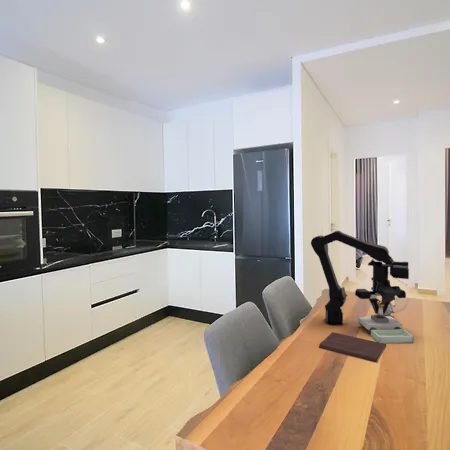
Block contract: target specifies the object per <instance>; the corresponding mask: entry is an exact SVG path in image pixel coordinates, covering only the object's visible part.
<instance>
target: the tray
mask: <svg viewBox="0 0 450 450" xmlns="http://www.w3.org/2000/svg"><path fill="white" fill-rule="evenodd" d="M370 337H371V338H372V339H373V340H375V342H379V343H384V344H414V340H415V339H414V335H413V334H411V333H410V332H408V331H407V330H406V329H403V328H402V329H377V330H371V334H370Z"/></svg>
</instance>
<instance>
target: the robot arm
mask: <svg viewBox="0 0 450 450" xmlns="http://www.w3.org/2000/svg"><path fill="white" fill-rule="evenodd" d="M336 241H337V242H339V243H342V244H344V245H346V246H349V247H352V248H354V249H355V250H358V251H361V252H363V253H365V254H366V255H368V256H369V257H370V258H371V260H370V261H369V262H367V266H370V267H372V277H371V278H370V279H371V281H372V287H371V289H370V290H368V289H366V288H357V289H355V291H354V292H355V293H354V295H355V297H357V298H358V299H361V300H368V301H369V302H370V304H371V306H372V309H373V311H374V315H377V311H378V310H377V302H379V301H378V300H379V299H378V298H377V296H378V297H379V296H380V297H381V300H382V302H383V303H385V306H383V314H385V312H386V310H387V307H388V305H389V303H392V302H393V301H395V300H396V297H397V298H398V299H406V298H407V293H406V291H405V290H404V289H401V287H400V286H399V285H394V286H391V282H390V280H389V275H390V276H391V277H392V279H403V280H409V276H410V269H409V261H395V260H394V258H392V256H391V255H390V254H389V253H390V251H389V249H388V248H387V247H386V246H384V245H381V244H377V243H376V244H375V243H371V242H367V241H363V240H362V239H359V238H357V237H354V236H352V235H349V234H347V233H344V232H343V231H340V230H335V231H333V232H331V233H329V234H326V235H322V234H321V235H317V236H314V237H313V238H312V239H311V240H310V245H311V248H312V249H313V251H314V253H315V255H317V256H318V260H319V262H320V265H321V268H322V271H323V274H324V277H325V280H326V283H327V285H328V297H329V300H328V301H327V303H326V304H325V305H324V308H325V318H324V319H323V320H324V321H325V323H326V324H327V325H330V326H331V325H332V326H334V325H335V326H337V325H339V326H340V325H344V323H343V322H344V319H343V317H344V313H343V309H342V307H343V306H344V305H345V303H346V302H347V297H348V294H347V293H346V290H345V287H344V286H343V287H341V286H340V285H339V281H338V278H337V276H336V273H335V270H334V268H333V267H334V266H333V264H332V261H331V258H330V255H329V244H330V243H334V242H336Z"/></svg>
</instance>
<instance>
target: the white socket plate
mask: <svg viewBox="0 0 450 450" xmlns="http://www.w3.org/2000/svg"><path fill="white" fill-rule="evenodd" d="M357 321H358V323H359V325H360V326H361V327H362V326H363V327H364V328H365V329H366V330H367V332H368V333H369V334H370V335H371V330H389V329H403V323H401V321H398V320H397V319H395V318H394V317H392V315H391V316H390V315H388V316H384V315H383V318H377V314H371V315H370V316H358V319H357Z"/></svg>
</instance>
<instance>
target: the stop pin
mask: <svg viewBox="0 0 450 450" xmlns="http://www.w3.org/2000/svg"><path fill="white" fill-rule="evenodd" d="M383 306H385V303H383V302H379V301H378V302H377V310H378V311H377V314H376V315H377V318H383Z"/></svg>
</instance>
